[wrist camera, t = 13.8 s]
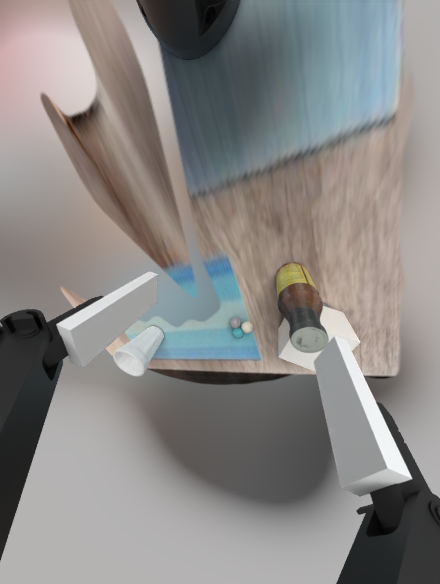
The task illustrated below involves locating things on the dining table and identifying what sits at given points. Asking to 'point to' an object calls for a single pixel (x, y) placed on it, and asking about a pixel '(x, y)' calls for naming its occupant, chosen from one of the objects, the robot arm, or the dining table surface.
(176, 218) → the dining table surface
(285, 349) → the white block
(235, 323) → the smoky marble
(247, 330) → the cream marble
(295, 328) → the sauce bottle
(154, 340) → the cup
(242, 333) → the teal marble
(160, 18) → the robot arm
